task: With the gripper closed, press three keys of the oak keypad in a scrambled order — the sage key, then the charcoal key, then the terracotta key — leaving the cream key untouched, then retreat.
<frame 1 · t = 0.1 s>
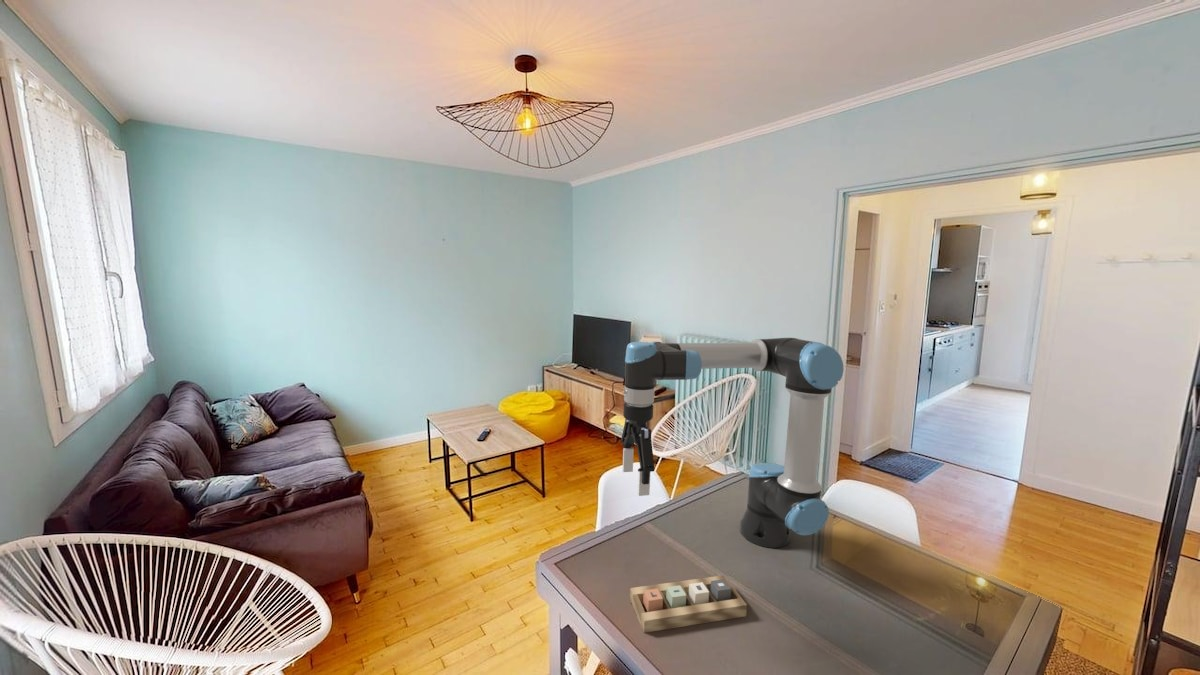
hand: (635, 482, 115), 28 cm above the table, fingers open, 13 cm apart
sage key: (676, 597, 108), point 3 cm above the table, slide at 0.0 cm
cream key: (698, 593, 109), point 3 cm above the table, slide at 0.0 cm
keypad frame: (686, 607, 109), on the table
terracotta key: (652, 600, 107), point 3 cm above the table, slide at 0.0 cm
charcoal key: (720, 590, 111), point 3 cm above the table, slide at 0.0 cm
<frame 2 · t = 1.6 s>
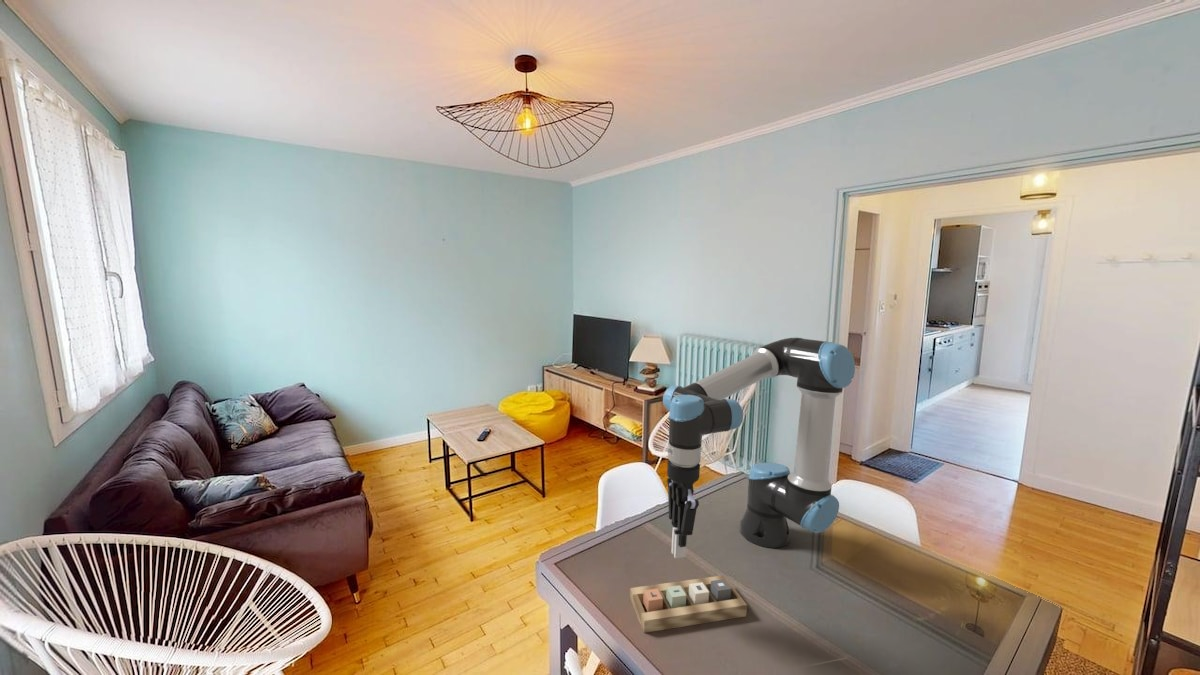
hand: (678, 554, 107), 14 cm above the table, fingers closed
nothing on the table moved.
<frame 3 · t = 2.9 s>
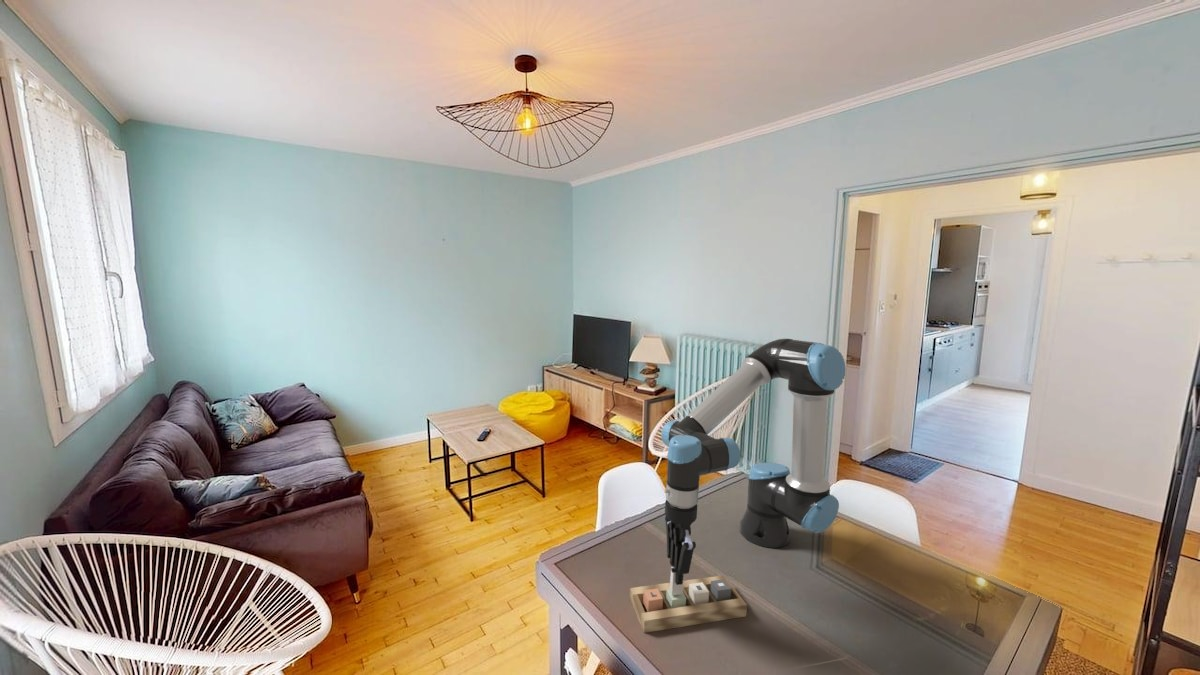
hand: (675, 592, 108), 4 cm above the table, fingers closed
sage key: (675, 599, 108), point 3 cm above the table, slide at 0.7 cm
everything else where it was.
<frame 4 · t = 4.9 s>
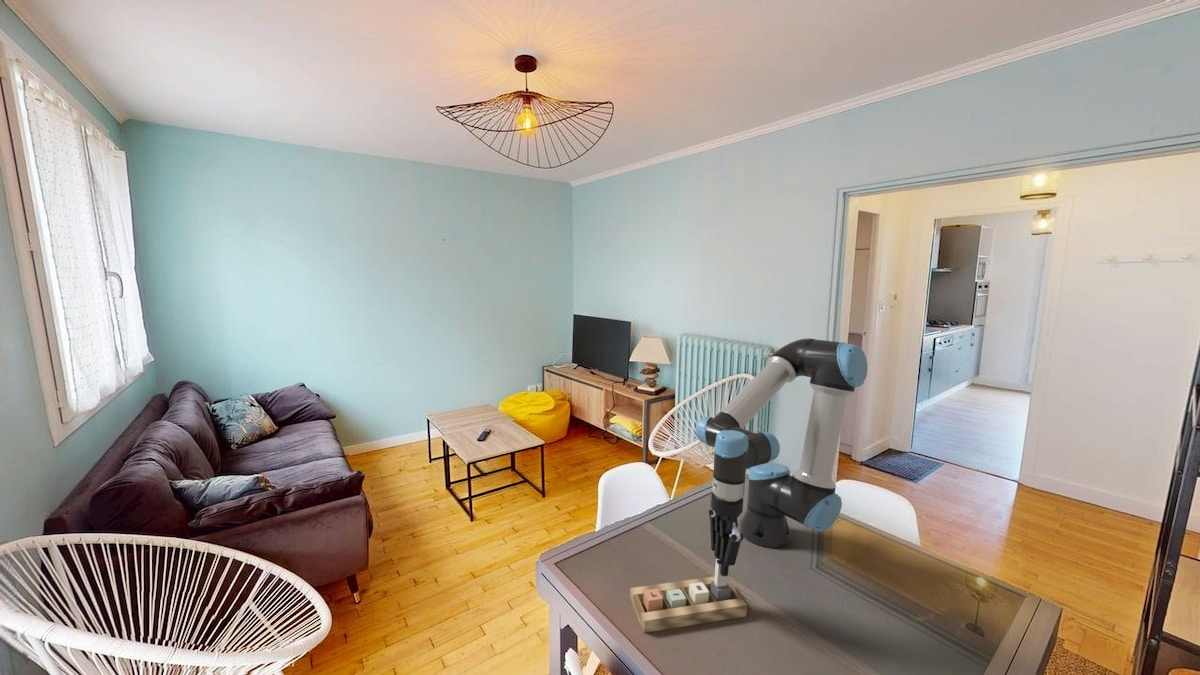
hand: (720, 584, 110), 5 cm above the table, fingers closed
charcoal key: (720, 590, 111), point 3 cm above the table, slide at 0.1 cm, touching gripper
everything else where it was.
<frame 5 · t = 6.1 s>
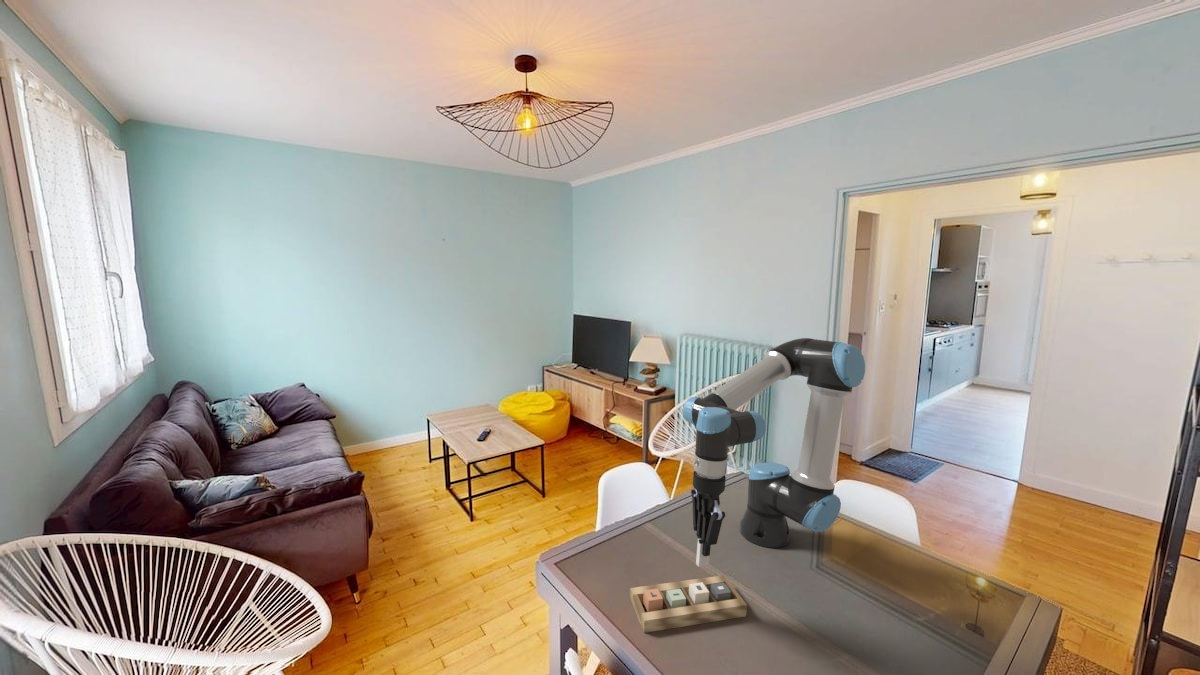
hand: (702, 564, 108), 11 cm above the table, fingers closed
charcoal key: (720, 593, 111), point 2 cm above the table, slide at 0.9 cm
everything else where it was.
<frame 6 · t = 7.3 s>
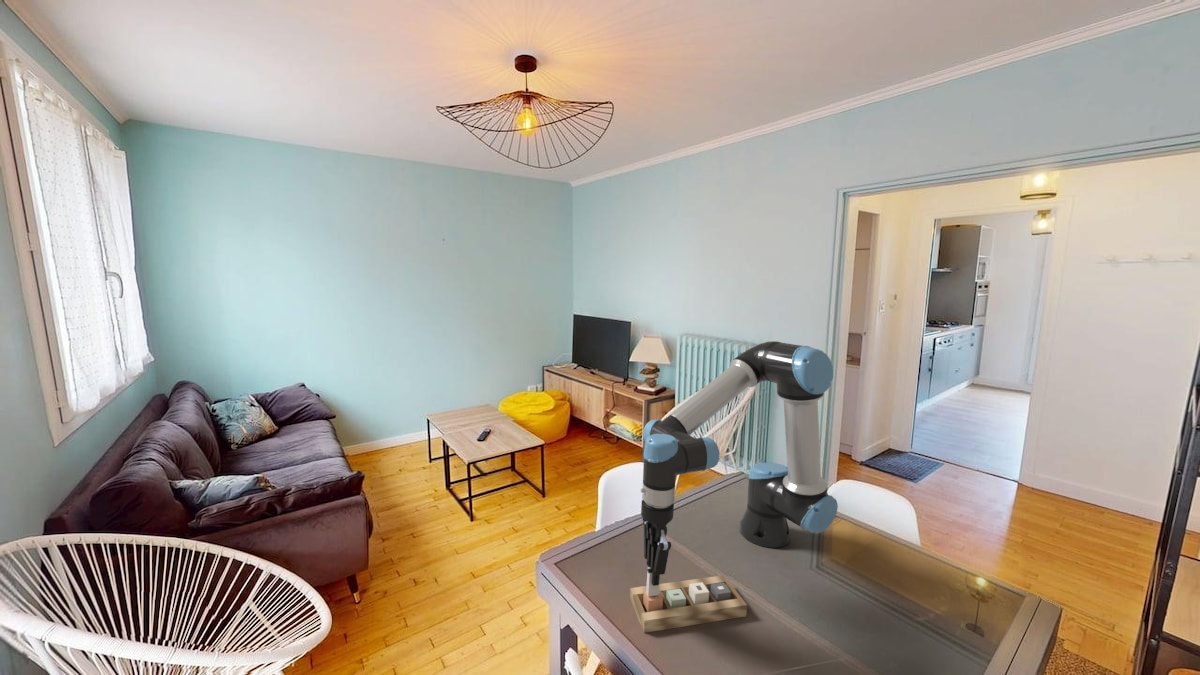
hand: (652, 593, 106), 5 cm above the table, fingers closed
terracotta key: (652, 600, 107), point 3 cm above the table, slide at 0.1 cm, touching gripper
everything else where it was.
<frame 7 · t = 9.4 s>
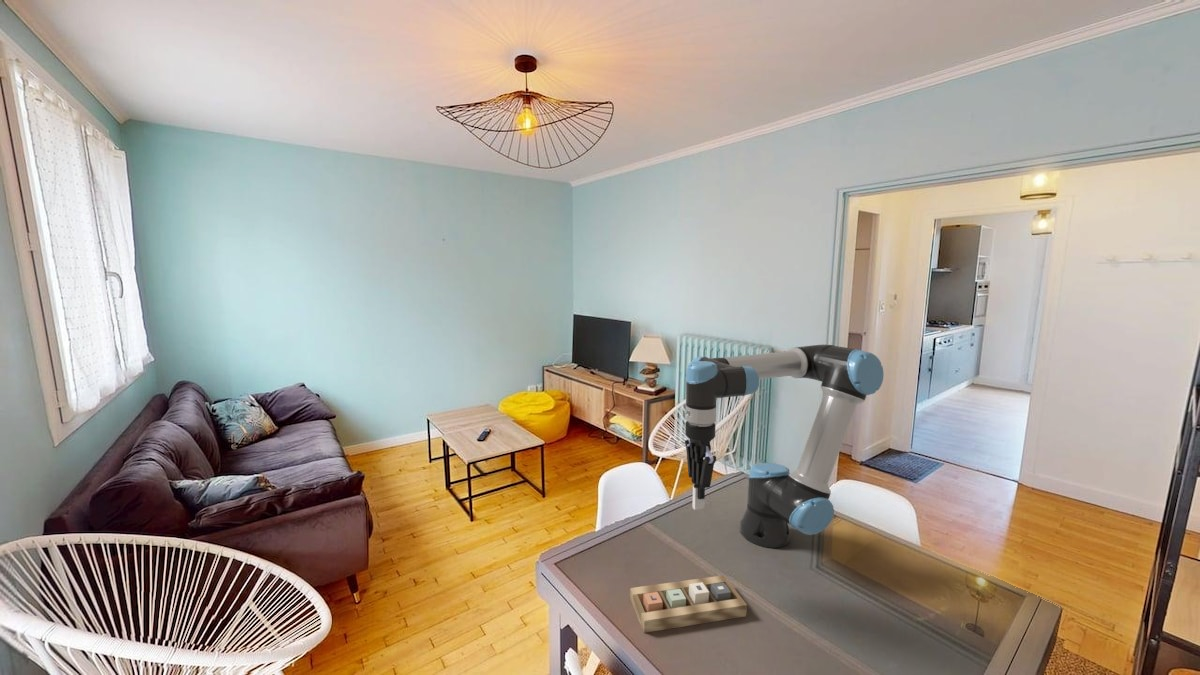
hand: (698, 508, 116), 21 cm above the table, fingers closed
terracotta key: (652, 603, 107), point 2 cm above the table, slide at 0.9 cm
everything else where it was.
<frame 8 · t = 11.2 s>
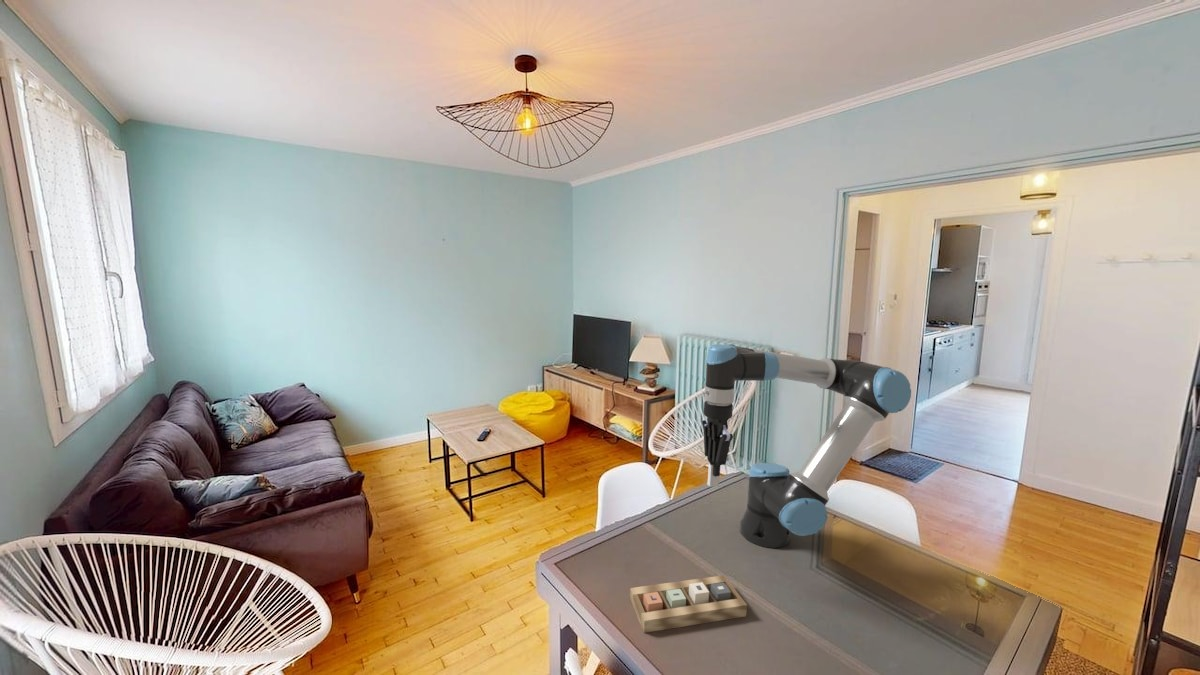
hand: (713, 485, 122), 24 cm above the table, fingers closed
nothing on the table moved.
at the end: sage key slide at 0.9 cm; charcoal key slide at 0.9 cm; terracotta key slide at 0.9 cm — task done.
